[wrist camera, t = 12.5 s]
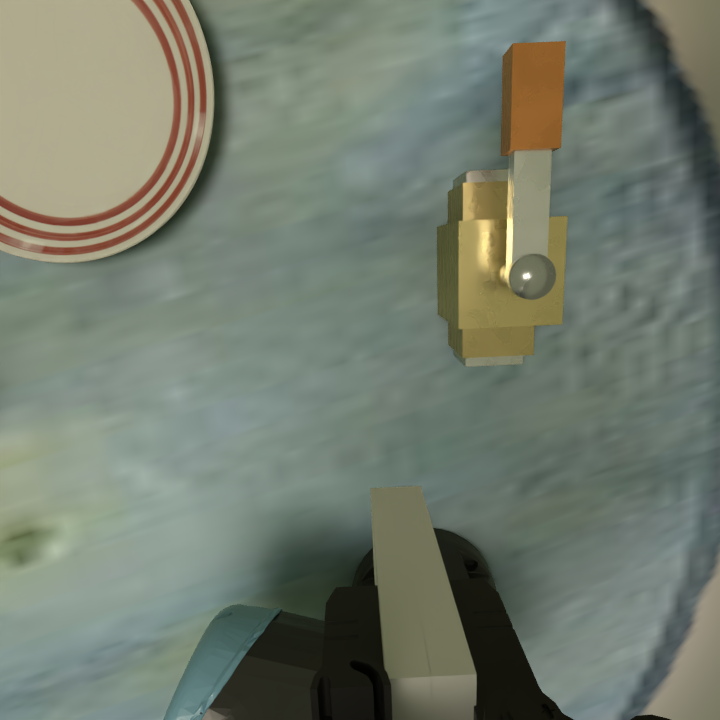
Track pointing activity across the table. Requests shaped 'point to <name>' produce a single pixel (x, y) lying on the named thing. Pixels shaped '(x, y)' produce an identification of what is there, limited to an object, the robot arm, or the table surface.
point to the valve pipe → (490, 275)
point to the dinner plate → (98, 123)
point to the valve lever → (530, 160)
